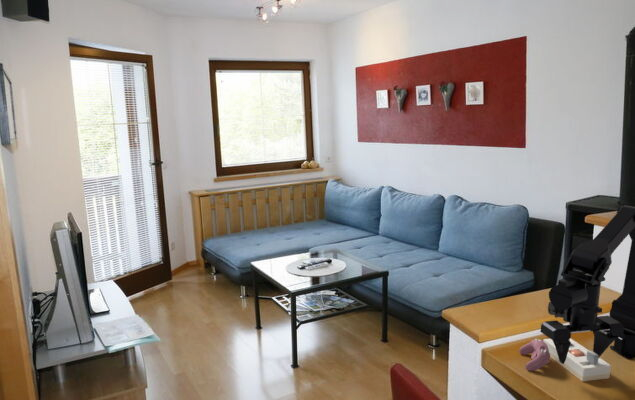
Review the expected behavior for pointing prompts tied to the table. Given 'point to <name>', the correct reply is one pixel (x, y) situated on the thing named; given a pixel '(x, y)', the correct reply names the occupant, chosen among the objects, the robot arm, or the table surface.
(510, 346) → the table surface
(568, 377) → the table surface
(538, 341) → the video game controller
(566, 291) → the robot arm
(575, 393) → the table surface
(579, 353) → the salmon orange button
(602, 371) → the switch panel
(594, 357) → the slide switch
